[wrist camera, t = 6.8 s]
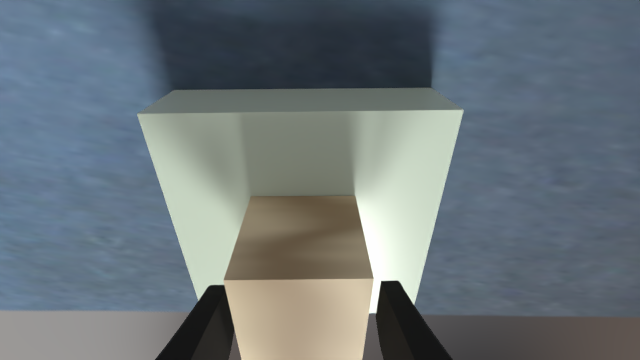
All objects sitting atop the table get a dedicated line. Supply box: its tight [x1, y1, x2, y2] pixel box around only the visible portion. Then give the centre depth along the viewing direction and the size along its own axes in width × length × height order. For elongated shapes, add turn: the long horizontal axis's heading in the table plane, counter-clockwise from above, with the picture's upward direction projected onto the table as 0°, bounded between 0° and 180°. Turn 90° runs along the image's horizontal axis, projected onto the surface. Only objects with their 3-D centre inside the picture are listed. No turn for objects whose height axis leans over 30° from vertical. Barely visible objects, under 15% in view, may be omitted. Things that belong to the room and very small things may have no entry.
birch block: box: [223, 196, 374, 360], centre depth 12 cm, size 4×4×4 cm
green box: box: [137, 88, 463, 313], centre depth 16 cm, size 12×12×4 cm
